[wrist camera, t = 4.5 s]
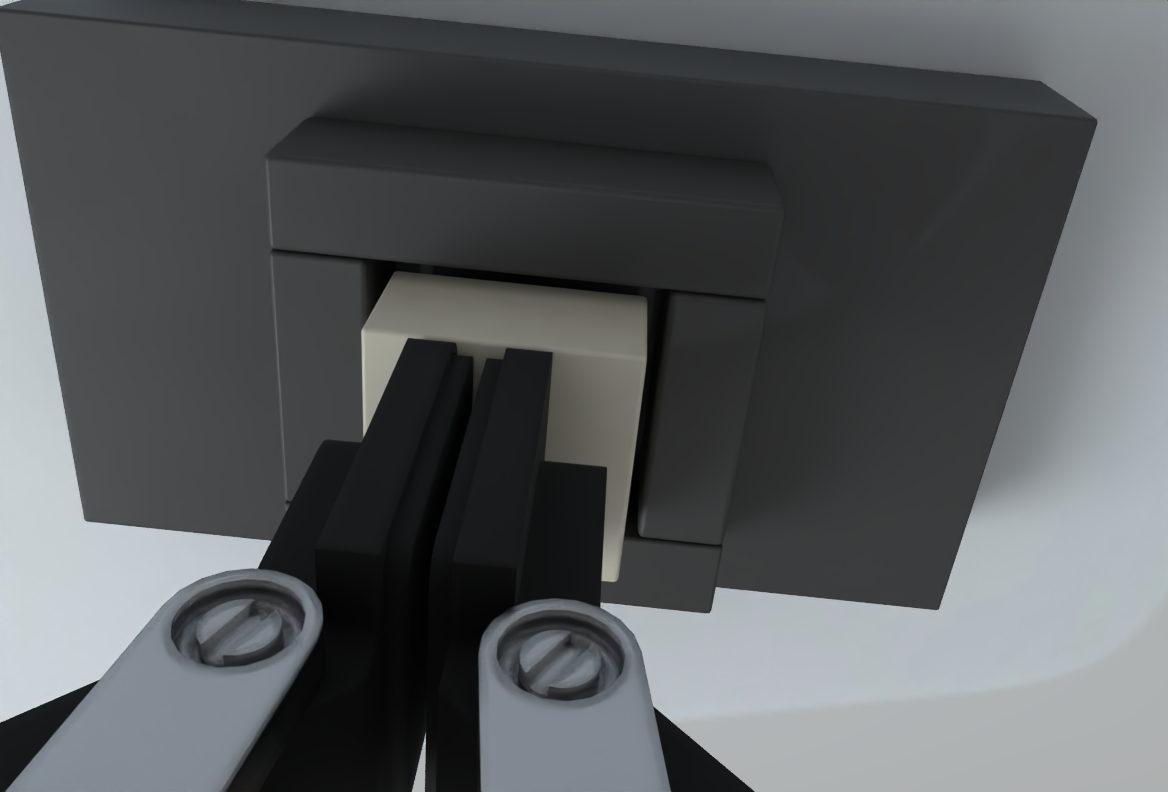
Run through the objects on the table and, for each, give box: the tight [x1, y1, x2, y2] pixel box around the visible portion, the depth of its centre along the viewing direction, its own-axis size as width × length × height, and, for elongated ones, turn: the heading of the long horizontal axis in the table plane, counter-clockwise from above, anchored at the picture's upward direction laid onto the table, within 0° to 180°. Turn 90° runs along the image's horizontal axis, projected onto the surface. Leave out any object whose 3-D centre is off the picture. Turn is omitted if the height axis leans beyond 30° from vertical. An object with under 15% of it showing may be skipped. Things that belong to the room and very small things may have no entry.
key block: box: [0, 0, 1097, 613], centre depth 15 cm, size 14×8×4 cm, turn 85°
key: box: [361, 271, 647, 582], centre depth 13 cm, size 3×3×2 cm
